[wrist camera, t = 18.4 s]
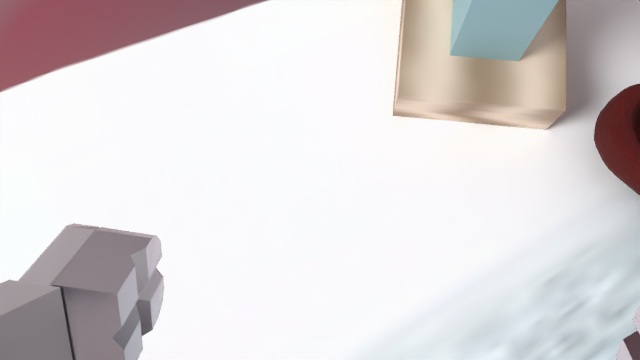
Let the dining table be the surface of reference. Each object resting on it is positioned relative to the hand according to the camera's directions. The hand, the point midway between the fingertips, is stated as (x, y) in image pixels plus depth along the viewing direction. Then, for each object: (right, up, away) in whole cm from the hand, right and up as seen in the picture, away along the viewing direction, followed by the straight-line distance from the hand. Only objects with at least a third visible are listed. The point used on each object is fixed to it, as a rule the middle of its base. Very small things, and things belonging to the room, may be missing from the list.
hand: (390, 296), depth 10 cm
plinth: (+11, +12, +37) cm, 41 cm away
